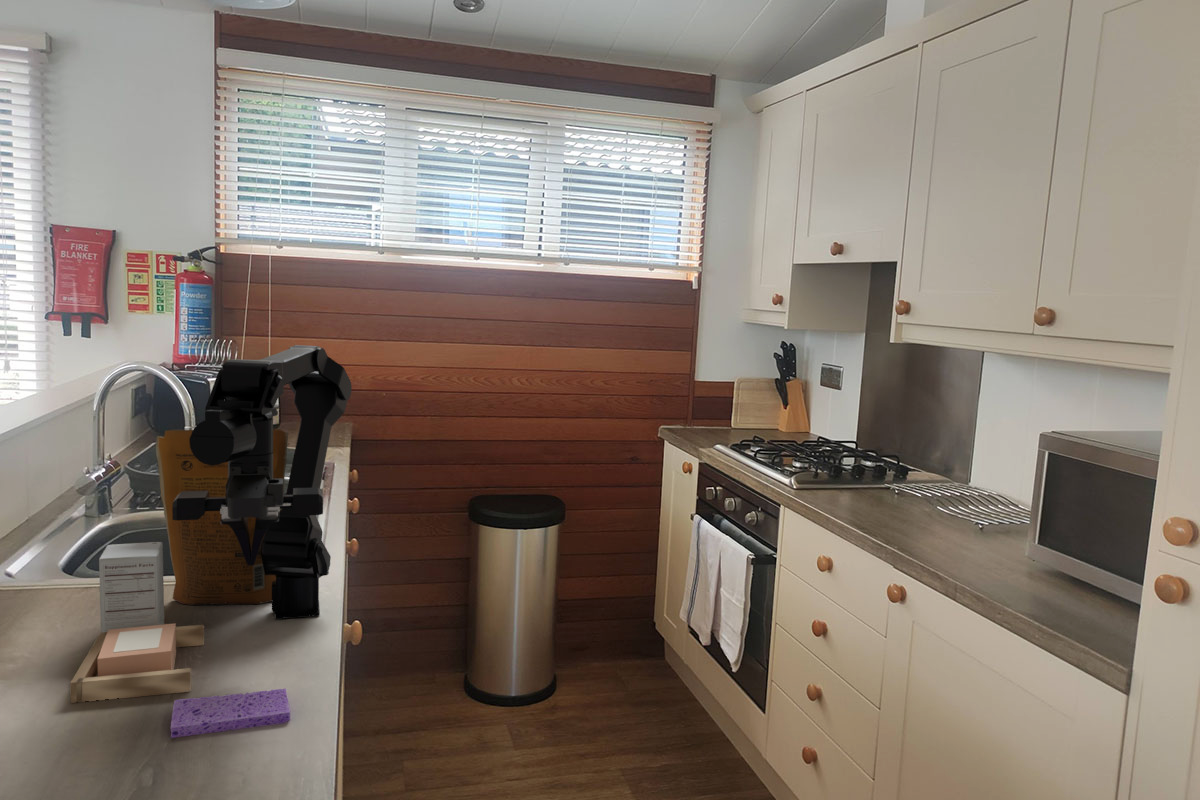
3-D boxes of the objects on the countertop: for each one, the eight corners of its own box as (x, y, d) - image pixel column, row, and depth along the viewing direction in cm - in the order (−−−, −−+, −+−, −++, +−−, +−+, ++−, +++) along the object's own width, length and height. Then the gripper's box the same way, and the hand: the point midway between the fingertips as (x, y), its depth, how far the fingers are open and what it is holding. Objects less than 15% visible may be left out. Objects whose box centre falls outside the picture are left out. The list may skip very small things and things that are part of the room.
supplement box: (108, 628, 125) (107, 543, 124) (165, 624, 128) (164, 540, 127) (99, 648, 118) (97, 558, 117) (159, 642, 121) (158, 554, 120)
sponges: (174, 714, 102) (174, 699, 101) (288, 700, 106) (288, 685, 106) (169, 743, 95) (169, 727, 95) (290, 726, 100) (290, 711, 100)
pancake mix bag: (282, 607, 136) (283, 430, 134) (153, 608, 133) (153, 428, 131) (291, 594, 143) (293, 426, 141) (169, 595, 140) (169, 423, 138)
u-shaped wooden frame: (204, 641, 122) (203, 624, 122) (190, 691, 106) (189, 672, 106) (100, 650, 118) (100, 632, 117) (70, 703, 102) (70, 682, 102)
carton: (176, 655, 118) (175, 622, 117) (171, 685, 109) (170, 650, 108) (108, 662, 115) (108, 629, 114) (98, 694, 105) (97, 658, 105)
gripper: (165, 464, 106) (167, 587, 108) (324, 461, 113) (323, 578, 114) (177, 449, 117) (178, 562, 119) (322, 447, 123) (321, 554, 125)
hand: (250, 564), depth 119 cm, fingers closed
